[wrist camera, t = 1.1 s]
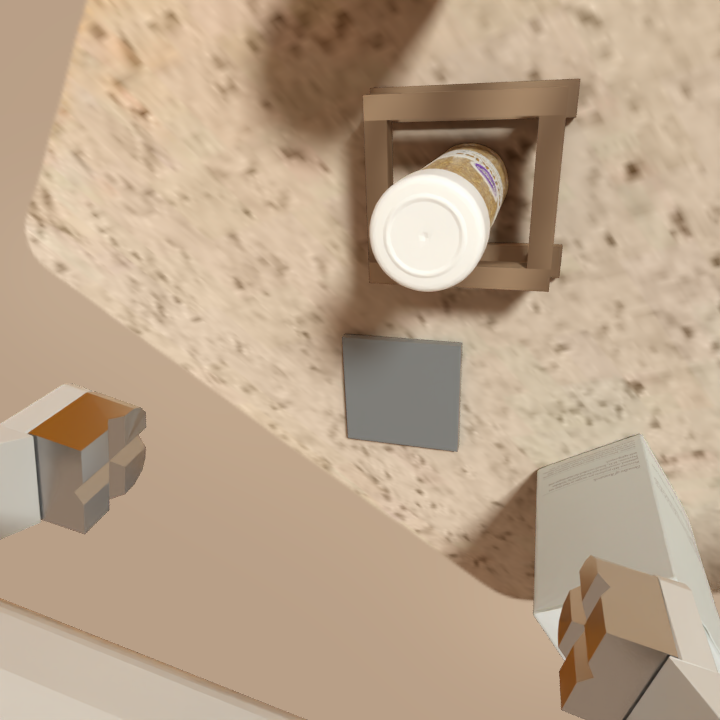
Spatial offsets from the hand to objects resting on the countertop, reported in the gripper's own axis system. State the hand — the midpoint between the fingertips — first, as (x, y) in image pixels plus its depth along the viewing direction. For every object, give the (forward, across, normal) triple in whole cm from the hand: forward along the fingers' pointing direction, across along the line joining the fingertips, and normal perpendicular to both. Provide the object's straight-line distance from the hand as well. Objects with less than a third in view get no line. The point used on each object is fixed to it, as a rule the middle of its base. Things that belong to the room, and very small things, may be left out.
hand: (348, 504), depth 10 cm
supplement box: (+27, -14, +16) cm, 34 cm away
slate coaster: (+28, +2, +13) cm, 31 cm away
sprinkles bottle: (+28, +1, -1) cm, 28 cm away
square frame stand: (+27, +1, -1) cm, 27 cm away
